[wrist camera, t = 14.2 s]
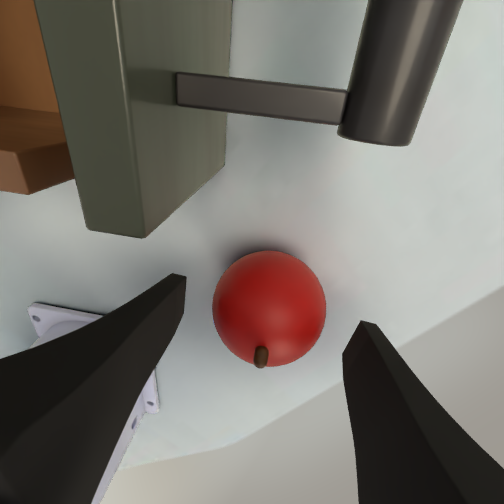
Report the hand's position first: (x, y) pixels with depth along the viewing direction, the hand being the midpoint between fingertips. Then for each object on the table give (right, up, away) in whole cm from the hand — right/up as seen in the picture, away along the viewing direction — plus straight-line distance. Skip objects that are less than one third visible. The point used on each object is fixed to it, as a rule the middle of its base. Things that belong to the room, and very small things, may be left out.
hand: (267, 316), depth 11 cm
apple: (0, 0, +1) cm, 1 cm away
